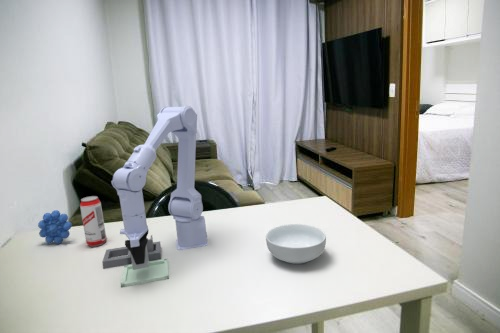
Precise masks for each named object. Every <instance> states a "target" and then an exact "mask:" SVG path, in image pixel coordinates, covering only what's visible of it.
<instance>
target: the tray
mask: <svg viewBox="0 0 500 333" xmlns="http://www.w3.org/2000/svg"><path fill="white" fill-rule="evenodd" d="M123 266H124V267H123V271H122V276H121V280H120V288H126V287H130V286H137V285H142V284H148V283H153V282H154V283H155V282H159V281H165V280H169V279H170V275H169V259H168V258H161V259H159V260H153V261H149V267H147V268H141V269H136V270H133V267H132V264H129V265H123Z"/></svg>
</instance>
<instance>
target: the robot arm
mask: <svg viewBox="0 0 500 333" xmlns="http://www.w3.org/2000/svg"><path fill="white" fill-rule="evenodd" d="M156 121H157V122H156V123H155V124H154V126H153V128H152V130H151V131H150V133H149V135H148V136H147V139H146V141H145V142H144V143H143V144H138V145H137V146H135V147H134V148H133V152H132V154H131V155H130V156H129V158H128V159H127V161H126V162H124V165H123V167H120V168H118V169H117V170H116V171H115V172H114V173H113V176H112V180H111V181H110V182H111V185H112V187H113V188H114V189H115V190H116V193H117V194H116V195H117V196H118V197H119V202H120V204H119V205H120V209H121V216H122V222H123V228H121V229H120V230H119V234H120V235H125V236H126V237H127V238H126V239H125V241H124V247H127V248H128V249H129V251H130V252H131V254H132V256H133V259H134V261H135V263H136V265H138V264H144V261H145V248H146V245H147V242H148V238H147V236H149V235H148V234H149V226H148V223H147V217H146V208H145V201H144V195H143V188H144V187H145V186H146V182H147V176H148V171H149V170H150V169H151V167H152V165H153V163H154V162H155V160H156V159H157V152H156V151H157V149H158V148H160V145H161V144H162V143H163V142H164V141H165V139H166V138H167V136H168V135H169V134H170V133H173V134H174V135H175V136H176V137H177V138H178V144H177V145H178V146H177V148H178V149H177V173H176V174H177V178H176V188H175V189H174V190H173V191H172V192H171V193H170V200H169V202H168V207H167V208H168V212H169V214H170V215H171V217H173V218H172V219H174V220H175V228H176V231H175V232H176V250H177V251H183V250H189V249H194V248H195V249H196V248H201V247H206V246H208V233H207V226H206V225H207V224H206V219H205V216H204V215H202V214H203V212H204V211H203V210H204V206H203V201H202V194H201V193H200V192H199V191H198V190H196V188H195V176H196V174H195V173H196V153H197V151H196V149H197V148H196V147H197V146H196V145H197V131H198V129H197V128H198V114H197V113H196V111H195V109H194V108H193V107H191V105H186V106H164V107H162V108H161V109H160V110H159V113H158V114H157V115H156Z"/></svg>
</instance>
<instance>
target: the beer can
mask: <svg viewBox="0 0 500 333" xmlns="http://www.w3.org/2000/svg"><path fill="white" fill-rule="evenodd" d="M79 207H80V214H81V215H80V216H81V220H82V225H83V226H82V227H83V230H84V238H85V242H86V245H87V246H89V247H91V248H95V247H99V246H102V245H104V244H105V243H106V242H107V239H108V238H107V233H106V228H105V226H106V225H105V221H104V214H103V209H102V202H101V200H100V199H99V197H98V196H97V195H91V196H86V197H83V198H81V199H80V204H79Z"/></svg>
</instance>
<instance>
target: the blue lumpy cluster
mask: <svg viewBox="0 0 500 333" xmlns="http://www.w3.org/2000/svg"><path fill="white" fill-rule="evenodd" d="M37 226H38V229H40V230H39V232H38V234H39V235H38V236H39V237H41V238H44V240H45V243H46V244H51V243H54V244H56V245H58V244H59V245H60V244H61V243H62V242H63V240H64V239H68V238H69V237H70V234H71V233H70V231H69V230H71V228H72V227H73V224H72V222H71V221H69V216H68V214H66V213H61V212H60V211H59V210H53V211H51V213H50V212H46V213H44V214H43V216H42V220H40V221H39V222H38V224H37Z"/></svg>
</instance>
